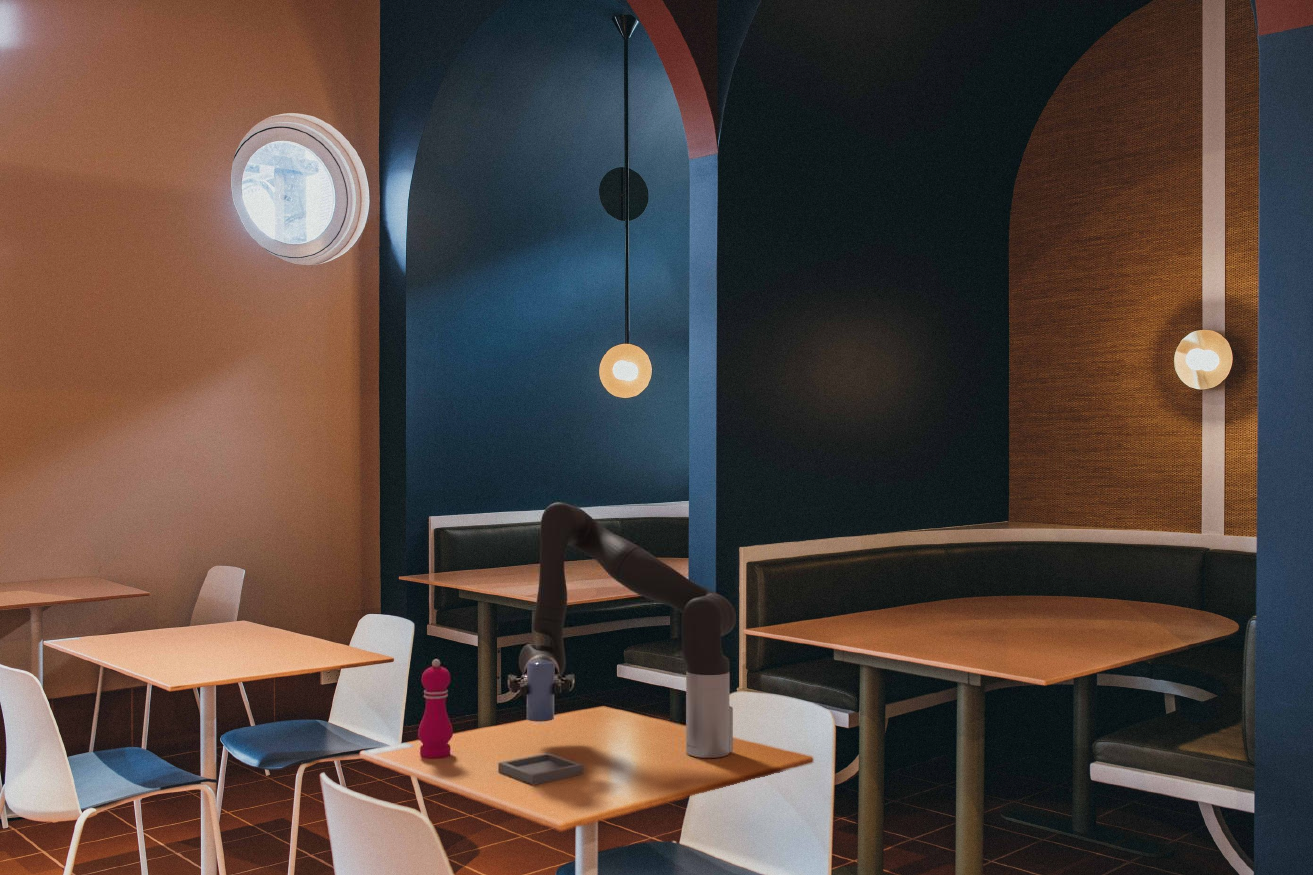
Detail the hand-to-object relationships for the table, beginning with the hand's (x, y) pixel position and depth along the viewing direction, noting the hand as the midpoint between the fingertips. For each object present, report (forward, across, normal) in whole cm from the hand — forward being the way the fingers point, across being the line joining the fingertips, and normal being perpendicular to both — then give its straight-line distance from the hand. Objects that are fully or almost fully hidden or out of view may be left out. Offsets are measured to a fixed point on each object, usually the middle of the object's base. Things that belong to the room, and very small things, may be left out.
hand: (540, 690), depth 212 cm
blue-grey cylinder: (-3, 0, +6) cm, 7 cm away
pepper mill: (-18, -22, +17) cm, 33 cm away
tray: (-2, 0, +17) cm, 17 cm away
